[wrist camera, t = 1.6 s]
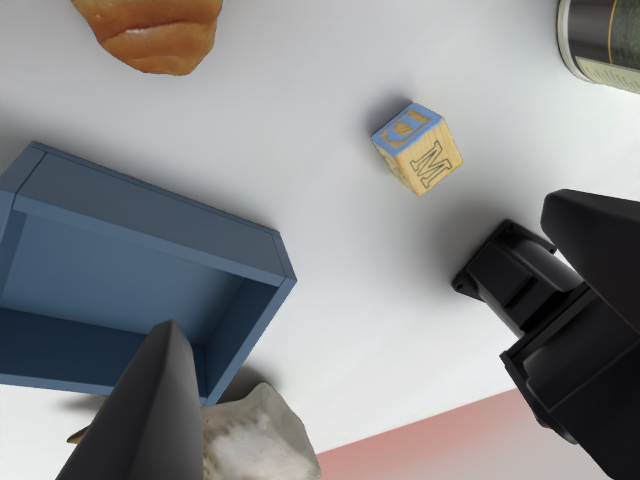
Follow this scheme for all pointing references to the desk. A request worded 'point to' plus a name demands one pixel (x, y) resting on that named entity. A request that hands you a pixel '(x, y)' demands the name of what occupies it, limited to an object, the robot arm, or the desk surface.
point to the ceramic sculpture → (253, 440)
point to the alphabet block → (418, 148)
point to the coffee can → (601, 41)
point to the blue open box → (124, 276)
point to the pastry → (154, 31)
